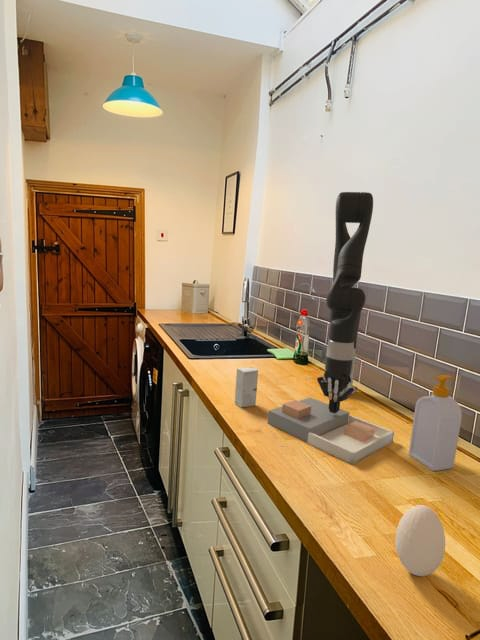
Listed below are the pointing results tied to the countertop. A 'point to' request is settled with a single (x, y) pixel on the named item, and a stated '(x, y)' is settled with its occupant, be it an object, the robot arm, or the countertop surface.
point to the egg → (420, 540)
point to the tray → (351, 442)
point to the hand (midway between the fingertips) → (333, 412)
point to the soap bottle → (436, 428)
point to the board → (309, 420)
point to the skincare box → (246, 387)
